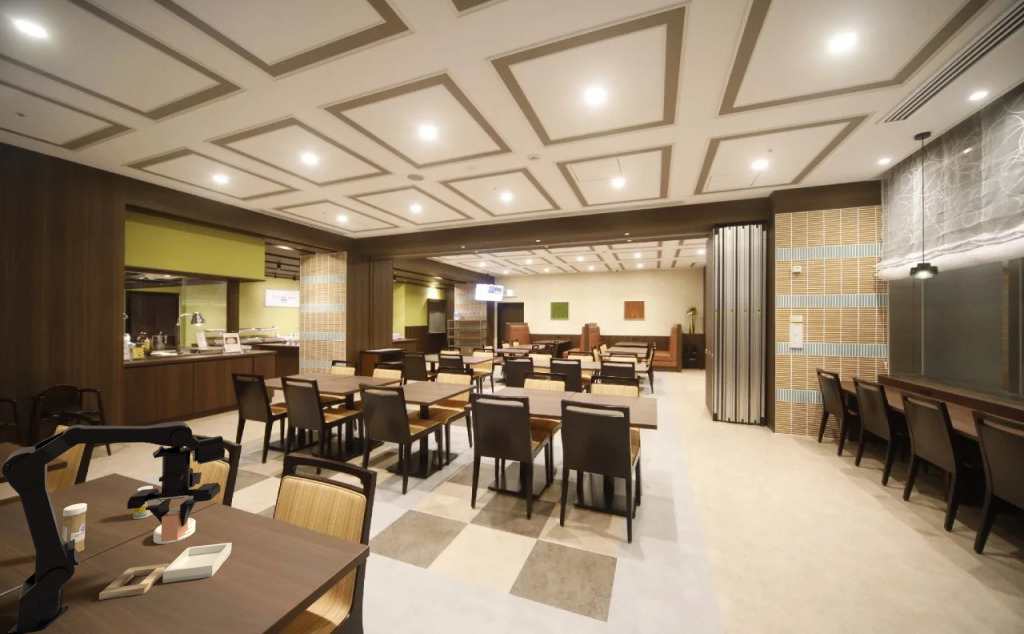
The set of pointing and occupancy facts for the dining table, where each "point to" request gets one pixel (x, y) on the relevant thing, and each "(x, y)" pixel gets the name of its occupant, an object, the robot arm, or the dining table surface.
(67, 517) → the sprinkles bottle
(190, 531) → the coaster
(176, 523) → the block
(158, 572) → the holder
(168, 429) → the robot arm
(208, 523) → the dining table surface
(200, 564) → the tray
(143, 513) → the supplement bottle
